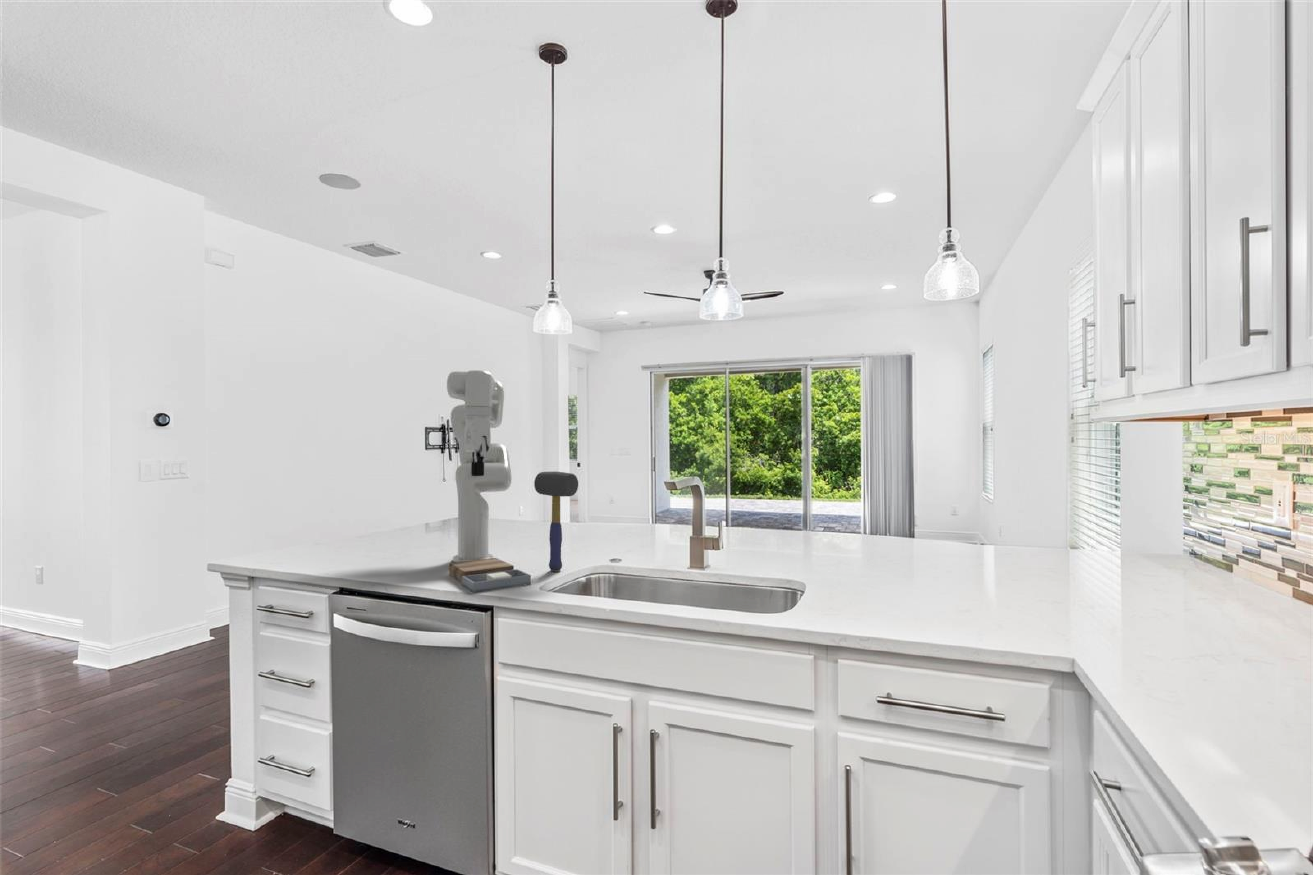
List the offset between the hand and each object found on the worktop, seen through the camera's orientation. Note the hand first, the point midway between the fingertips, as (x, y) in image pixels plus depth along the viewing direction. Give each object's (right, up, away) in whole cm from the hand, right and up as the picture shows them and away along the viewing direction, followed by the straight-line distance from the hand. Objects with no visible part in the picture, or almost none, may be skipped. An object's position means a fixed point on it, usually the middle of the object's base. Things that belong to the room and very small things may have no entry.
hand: (477, 475), depth 181 cm
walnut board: (+2, -29, -3) cm, 29 cm away
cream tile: (+10, -26, -14) cm, 31 cm away
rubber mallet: (+22, -29, +5) cm, 37 cm away
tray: (+9, -29, -12) cm, 33 cm away
